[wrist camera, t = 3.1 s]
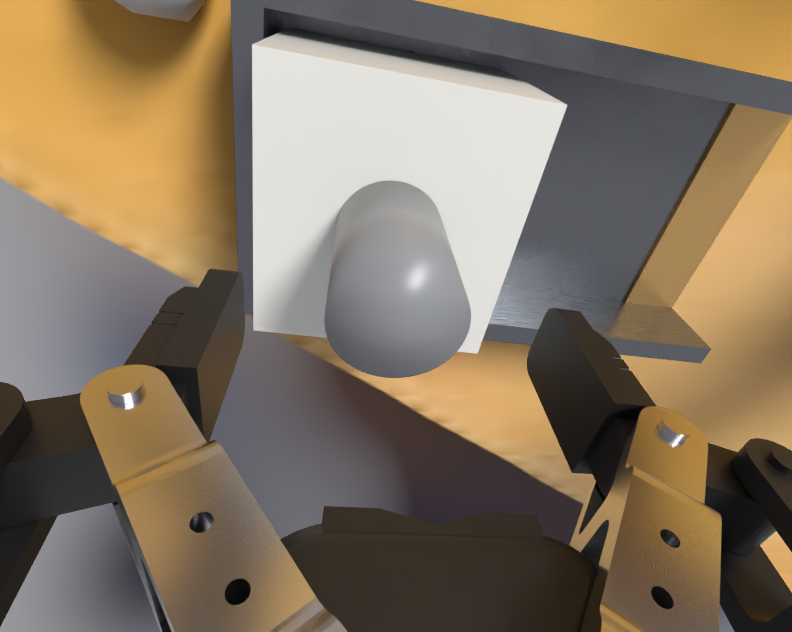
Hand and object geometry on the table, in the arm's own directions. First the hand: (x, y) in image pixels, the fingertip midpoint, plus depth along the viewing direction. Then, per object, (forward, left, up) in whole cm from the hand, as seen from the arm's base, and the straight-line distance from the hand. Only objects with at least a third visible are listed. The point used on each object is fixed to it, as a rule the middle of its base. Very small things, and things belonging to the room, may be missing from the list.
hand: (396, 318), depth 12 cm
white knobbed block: (0, 0, -11) cm, 11 cm away
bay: (0, +6, -13) cm, 14 cm away
